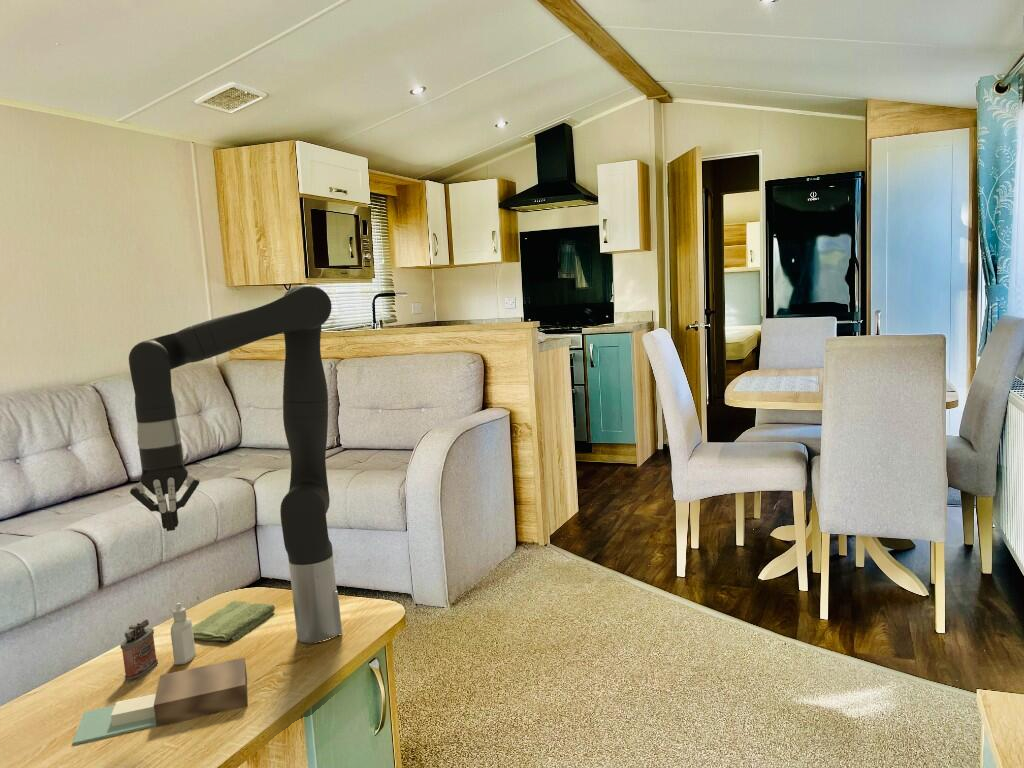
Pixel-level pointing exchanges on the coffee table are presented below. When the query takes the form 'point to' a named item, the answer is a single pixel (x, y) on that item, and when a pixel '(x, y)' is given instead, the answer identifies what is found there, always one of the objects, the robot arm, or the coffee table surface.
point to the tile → (133, 710)
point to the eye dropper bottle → (182, 636)
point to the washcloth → (232, 621)
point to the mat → (105, 725)
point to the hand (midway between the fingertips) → (171, 529)
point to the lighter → (138, 651)
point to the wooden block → (201, 691)
